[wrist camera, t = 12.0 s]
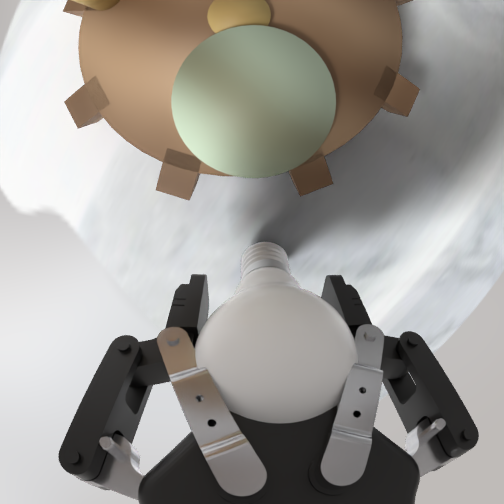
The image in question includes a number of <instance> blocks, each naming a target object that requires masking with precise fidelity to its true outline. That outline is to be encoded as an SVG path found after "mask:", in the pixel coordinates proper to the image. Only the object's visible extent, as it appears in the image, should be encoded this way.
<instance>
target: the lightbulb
mask: <svg viewBox="0 0 504 504" xmlns="http://www.w3.org/2000/svg"><path fill="white" fill-rule="evenodd" d="M194 349H195V356H196V364H197V367H198V368H202V367H205V368H206V369H207V370H208V372H209V374H210V376H211V378H212V380H213V382H214V384H215V386H216V388H217V390H218V391H219V393H220V395H221V397H222V399H223V401H224V403H225V404H226V406H227V408H228V410H229V411H232V412H234V413H236V414H238V415H241V416H243V417H246V418H249V419H252V420H256V421H261V422H267V423H293V422H299V421H304V420H307V419H310V418H313V417H316V416H318V415H320V414H323V413H324V412H326V411H328V410H329V409H331V408H333V407H334V406H336V405H338V401H339V399H340V396H341V393H342V391H343V388H344V385H345V382H346V380H347V376H348V374H349V372H350V370H351V368H352V366H353V364H354V363H357V364H358V353H357V347H356V343H355V340H354V337H353V335H352V332H351V330H350V328H349V326H348V325H347V323H346V321H345V320H344V319H343V317H342V316H341V315H340V313H339V312H338V311H337V310H336V309H335V308H334V307H333V306H332V305H330V304H329V303H328V302H327V301H325V300H324V299H323V298H321V297H319V296H318V295H316V294H314V293H312V292H310V291H308V290H305V289H303V288H301V286H300V285H299V283H298V282H297V280H296V279H295V278H294V277H293V276H292V275H291V272H290V267H289V263H288V258H287V254H286V252H285V251H284V249H283V248H282V247H280V246H279V245H277V244H275V243H272V242H259V243H255V244H253V245H251V246H250V247H248V248H247V249H246V250H245V252H244V253H243V255H242V258H241V281H240V283H239V284H238V286H237V288H236V291H235V294H234V296H232V297H231V298H229V299H228V300H227V301H225V302H224V303H223V304H222V305H221V306H219V307H218V308H217V309H216V310H215V311H214V312H213V314H212V315H211V316H210V317H209V318H208V320H207V321H206V323H205V324H204V326H203V328H202V329H201V331H200V333H199V336H198V338H197V341H196V344H195V347H194Z"/></svg>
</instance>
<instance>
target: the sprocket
mask: <svg viewBox="0 0 504 504" xmlns="http://www.w3.org/2000/svg"><path fill="white" fill-rule="evenodd" d="M410 1H412V0H68V1H67V3H66V5H65V8H64V10H63V12H67V13H70V14H74V15H77V16H81V17H82V22H81V26H80V32H79V47H78V48H79V60H80V67H81V71H82V75H83V79H84V83H85V85H83V86H82V87H81V88H80V89H78V90H77V91H76V92H75V93H74V94H73V95H71V96H70V97H69V98H68V99H67V100H66V101H65V104H66V106H67V108H68V110H69V112H70V114H71V116H72V118H73V120H74V122H75V124H76V126H77V127H78V128H81V127H84V126H87V125H90V124H93V123H96V122H98V121H100V120H101V119H102V118H104V119H105V120H106V121H107V122H108V123H109V125H110V126H111V127H112V128H113V129H114V130H115V131H116V132H117V133H118V134H119V135H121V136H122V137H123V138H124V139H125V140H126V141H128V142H129V143H130V144H132V145H133V146H135V147H136V148H138V149H139V150H141V151H142V152H144V153H146V154H148V155H150V156H152V157H154V158H156V159H158V160H159V161H162V162H163V164H162V168H161V171H160V175H159V179H158V183H157V187H156V190H157V191H160V192H164V193H167V194H170V195H173V196H177V197H180V198H183V199H186V200H190V198H191V196H192V193H193V191H194V189H195V187H196V184H197V181H198V178H199V175H200V173H202V174H210V175H218V176H237V177H244V178H264V177H270V176H275V175H279V174H282V173H285V172H287V171H289V174H290V176H291V178H292V181H293V183H294V185H295V187H296V189H297V191H298V193H299V195H300V196H303V195H305V194H308V193H310V192H313V191H316V190H318V189H321V188H323V187H326V186H329V185H331V184H333V181H332V178H331V175H330V172H329V169H328V166H327V163H326V160H325V158H324V156H326V155H327V154H329V153H331V152H332V151H334V150H336V149H337V148H339V147H341V146H342V145H344V144H345V143H347V142H348V141H349V140H350V139H352V138H353V137H354V136H356V135H357V134H358V133H359V132H360V131H361V130H362V129H363V128H364V127H365V126H366V125H367V124H368V123H369V122H370V121H371V120H372V119H373V118H374V117H375V115H376V114H377V113H378V111H379V110H380V108H383V109H384V110H386V111H388V112H391V113H395V114H399V115H403V116H406V117H408V115H409V113H410V111H411V108H412V106H413V104H414V102H415V99H416V97H417V95H418V92H419V90H420V89H419V88H418V87H416V86H415V85H414V84H412V83H411V82H410V81H408V80H407V79H406V78H404V77H403V76H401V75H400V74H399V73H398V71H399V66H400V61H401V56H402V28H401V20H400V16H399V12H398V9H397V6H399V5H401V4H404V3H407V2H410Z"/></svg>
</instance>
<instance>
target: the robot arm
mask: <svg viewBox="0 0 504 504" xmlns="http://www.w3.org/2000/svg"><path fill="white" fill-rule="evenodd" d="M321 298H323V299H324V300H325V301H327V302H328V303H329V304H330V305H332V306H333V307H334V308H335V309H336V310H337V311H338V312H339V313H340V315H341V316H342V317H343V319H344V320H345V321H346V323H347V325H348V326H349V328H350V330H351V332H352V335H353V337H354V340H355V343H356V347H357V353H358V364H357V363H354V364H353V366H352V368H351V370H350V372H349V374H348V376H347V380H346V382H345V385H344V388H343V391H342V393H341V396H340V399H339V401H338V405H336V406H334V407H333V408H331V409H329V410H328V411H326V412H324V413H323V414H320V415H318V416H316V417H313V418H310V419H307V420H304V421H299V422H293V423H267V422H261V421H256V420H252V419H249V418H246V417H243V416H241V415H238V414H236V413H234V412H232V411H229V410H228V408H227V406H226V404H225V403H224V401H223V399H222V397H221V395H220V393H219V391H218V390H217V388H216V386H215V384H214V382H213V380H212V378H211V376H210V374H209V372H208V370H207V369H206V368H205V367H202V368H198V367H197V364H196V356H195V349H194V347H195V344H196V341H197V338H198V336H199V333H200V331H201V329H202V328H203V326H204V324H205V323H206V321H207V318H208V310H209V296H208V284H207V275H200V274H192V275H191V279H190V283H189V284H181V285H180V286H179V287H178V289H177V290H176V291H175V294H174V298H173V302H172V306H171V309H170V313H169V317H168V321H167V325H166V328H165V329H164V330H162V331H161V332H160V333H159V335H158V337H157V338H155V339H152V340H148V341H142V342H138V340H137V339H136V338H135V337H133V336H128V335H124V336H120V337H118V338H116V339H115V340H114V341H113V342H112V343H111V345H110V347H109V349H108V351H107V353H106V354H105V356H104V358H103V360H102V362H101V364H100V365H99V367H98V369H97V371H96V373H95V375H94V377H93V379H92V381H91V383H90V385H89V387H88V389H87V391H86V393H85V395H84V397H83V399H82V402H81V403H80V405H79V408H78V410H77V412H76V414H75V416H74V419H73V421H72V423H71V425H70V427H69V430H68V432H67V434H66V436H65V439H64V441H63V444H62V446H61V448H60V451H59V461H60V463H61V466H62V467H63V468H64V469H65V470H66V471H67V472H69V473H70V474H72V475H74V476H76V477H77V478H78V479H80V480H82V481H84V482H86V483H88V484H90V485H92V486H95V487H99V488H101V489H103V490H112V491H115V492H117V493H120V494H122V495H125V496H127V497H130V498H133V499H136V500H139V503H140V504H415V496H416V492H417V489H418V485H419V480H420V477H421V476H423V475H425V474H426V473H428V472H430V471H435V470H437V469H439V468H441V467H443V466H444V465H446V464H448V463H449V462H451V461H453V460H455V459H456V458H458V457H459V456H461V455H463V454H464V453H466V452H467V451H469V450H470V449H472V448H473V447H474V446H475V445H476V443H477V441H478V437H479V435H478V430H477V427H476V426H475V424H474V422H473V420H472V418H471V416H470V414H469V413H468V411H467V409H466V407H465V406H464V404H463V402H462V400H461V399H460V397H459V395H458V393H457V392H456V390H455V388H454V387H453V385H452V383H451V382H450V380H449V378H448V377H447V375H446V374H445V372H444V370H443V369H442V367H441V366H440V364H439V363H438V361H437V360H436V358H435V356H434V355H433V353H432V352H431V350H430V349H429V347H428V346H427V344H426V343H425V341H424V340H423V338H422V337H421V336H420V335H418V334H417V333H415V332H410V331H408V332H404V333H403V334H402V335H401V336H400V338H395V337H389V336H385V335H384V334H383V332H382V331H381V330H380V329H379V328H378V327H376V326H374V325H372V323H371V321H370V318H369V316H368V314H367V312H366V309H365V307H364V305H363V303H362V301H361V299H360V296H359V294H358V292H357V290H356V289H355V288H353V287H352V286H351V285H346V284H345V282H344V279H343V277H342V276H341V275H327V276H326V279H325V283H324V288H323V292H322V296H321ZM408 372H409V373H410V374H409V373H408ZM410 375H411V376H412V378H413V380H414V381H413V380H412V378H411V376H410ZM169 381H171V383H172V386H173V388H174V391H175V393H176V396H177V398H178V401H179V403H180V406H181V408H182V410H183V413H184V415H185V417H186V420H187V422H188V424H189V426H190V429H191V432H190V433H189V434H188V435H187V436H186V437H185V438H184V439H183V440H182V441H181V442H180V443H179V444H178V445H177V446H176V447H175V448H174V449H173V450H172V451H171V452H170V453H169V454H168V455H166V456H165V457H164V458H163V459H162V460H161V461H160V462H159V463H158V464H157V465H156V466H154V467H153V468H152V469H151V470H150V471H149V472H148V473H147V474H146V475H145V476H143V475H142V473H141V471H140V468H139V461H140V456H139V453H138V451H137V449H136V448H135V447H134V446H133V445H132V442H133V439H134V436H135V433H136V430H137V428H138V425H139V422H140V419H141V416H142V414H143V411H144V408H145V405H146V402H147V400H148V397H149V394H150V392H151V389H152V386H153V385H155V384H160V383H164V382H169ZM382 382H383V384H384V386H385V388H386V389H387V391H388V393H389V395H390V398H391V399H392V402H393V403H394V405H395V408H396V410H397V412H398V414H399V416H400V418H401V420H402V422H403V424H404V426H405V429H406V431H407V433H408V435H407V437H406V446H405V450H406V451H407V452H406V451H404V450H403V449H402V448H400V447H399V446H398V445H396V444H395V443H393V442H392V441H391V440H390V439H389V438H387V437H386V436H385V435H383V434H382V433H381V432H380V431H378V430H377V429H376V428H375V427H373V426H374V421H375V417H376V412H377V407H378V402H379V397H380V391H381V385H382ZM414 382H415V383H414ZM415 384H416V385H415Z"/></svg>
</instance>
